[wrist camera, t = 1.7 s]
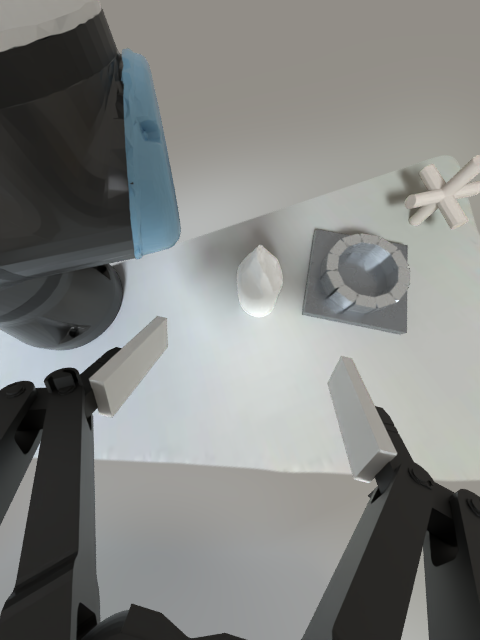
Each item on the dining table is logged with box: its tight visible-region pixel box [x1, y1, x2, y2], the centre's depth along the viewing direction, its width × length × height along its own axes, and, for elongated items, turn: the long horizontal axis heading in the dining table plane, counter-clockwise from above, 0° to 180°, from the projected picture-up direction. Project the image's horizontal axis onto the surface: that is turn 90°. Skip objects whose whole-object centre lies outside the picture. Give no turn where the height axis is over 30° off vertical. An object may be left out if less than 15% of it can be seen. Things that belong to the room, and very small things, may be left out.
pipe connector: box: [405, 155, 480, 229], centre depth 30 cm, size 10×10×10 cm
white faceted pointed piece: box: [237, 245, 283, 317], centre depth 26 cm, size 6×12×6 cm
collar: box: [302, 229, 410, 334], centre depth 30 cm, size 14×14×4 cm
